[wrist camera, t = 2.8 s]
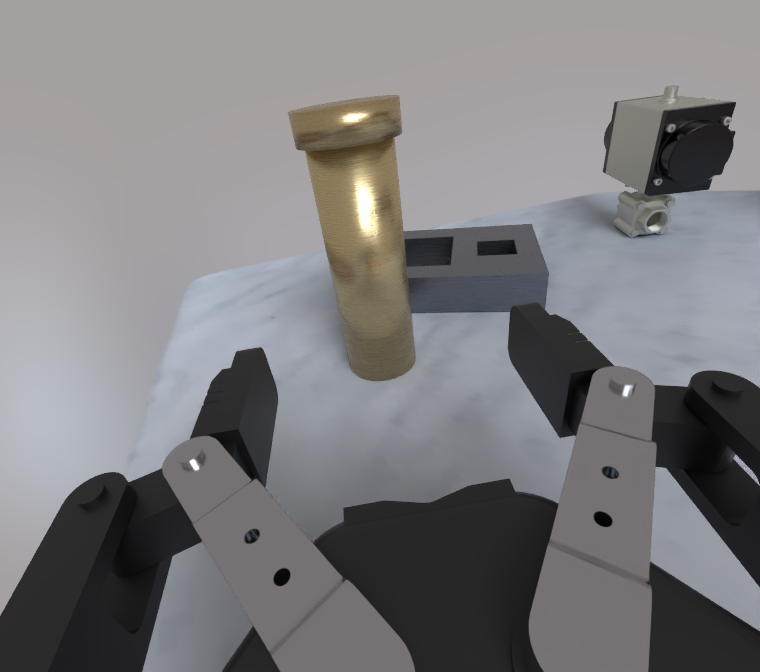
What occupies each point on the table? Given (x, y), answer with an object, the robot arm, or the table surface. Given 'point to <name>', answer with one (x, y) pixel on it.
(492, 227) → the plate
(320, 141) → the brass headed pin
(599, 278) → the table surface
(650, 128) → the pneumatic valve
